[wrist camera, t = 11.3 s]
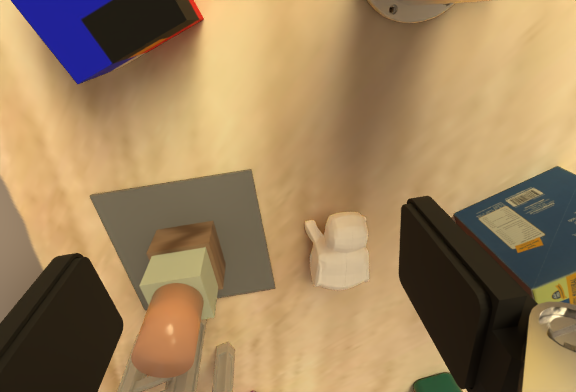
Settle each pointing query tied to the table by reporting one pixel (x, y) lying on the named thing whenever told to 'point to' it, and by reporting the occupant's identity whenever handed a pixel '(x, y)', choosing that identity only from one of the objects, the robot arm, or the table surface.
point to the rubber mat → (189, 210)
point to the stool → (184, 386)
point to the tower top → (183, 276)
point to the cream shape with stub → (339, 251)
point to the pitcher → (437, 384)
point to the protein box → (531, 233)
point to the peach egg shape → (169, 332)
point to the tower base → (191, 244)
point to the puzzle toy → (105, 30)
